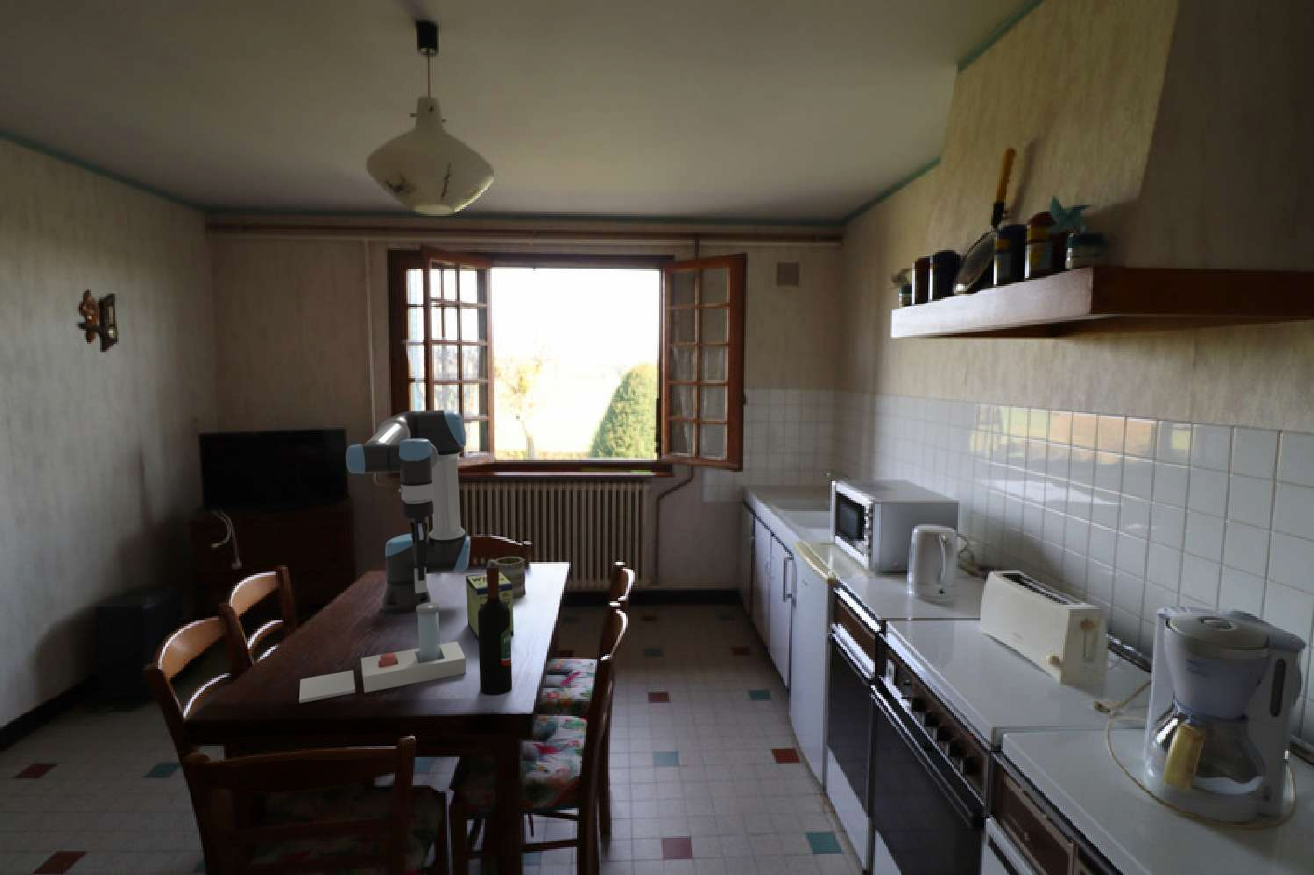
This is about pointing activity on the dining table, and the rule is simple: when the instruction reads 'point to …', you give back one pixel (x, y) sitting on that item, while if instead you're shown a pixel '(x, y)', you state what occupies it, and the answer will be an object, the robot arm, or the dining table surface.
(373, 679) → the block
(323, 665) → the dining table surface
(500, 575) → the protein box
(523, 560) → the mug
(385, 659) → the plunger
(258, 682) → the dining table surface
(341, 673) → the pad
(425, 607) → the cylinder
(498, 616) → the wine bottle
